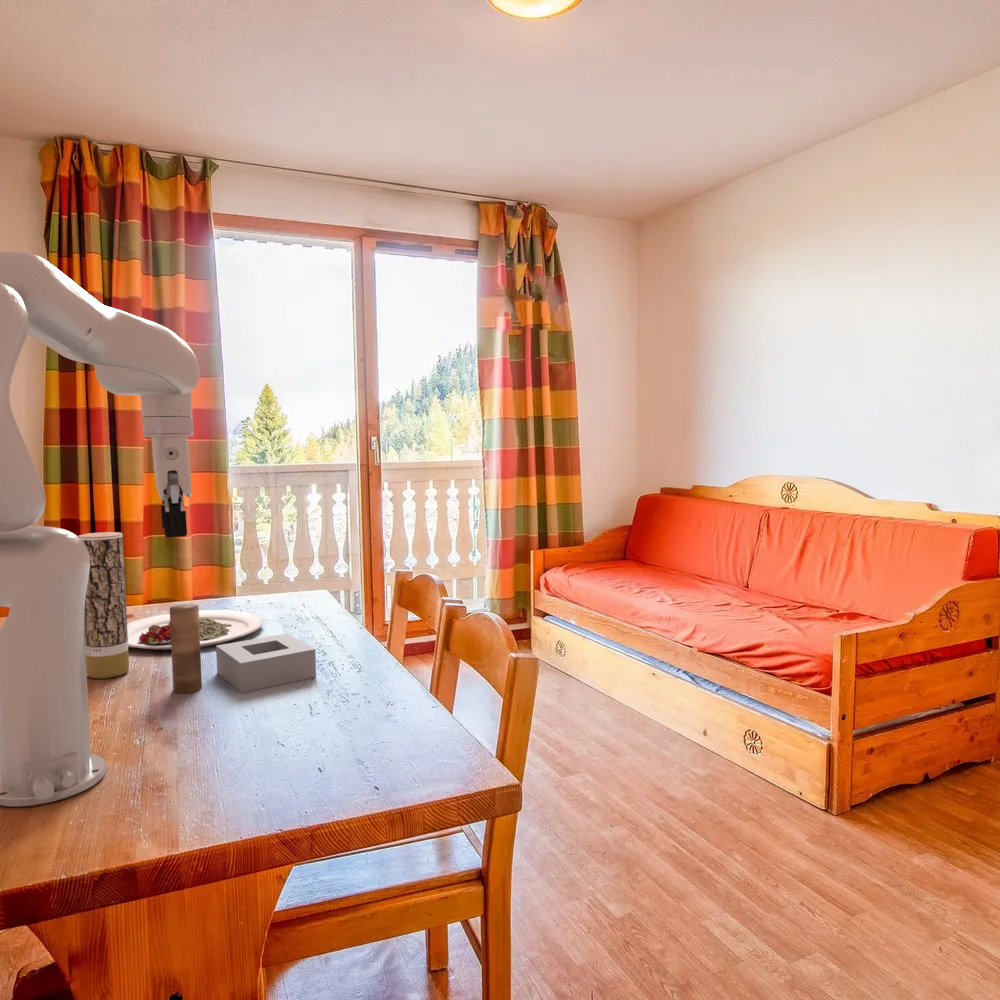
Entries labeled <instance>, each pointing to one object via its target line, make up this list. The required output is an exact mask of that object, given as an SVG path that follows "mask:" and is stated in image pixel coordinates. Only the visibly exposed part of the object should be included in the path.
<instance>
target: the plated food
mask: <svg viewBox="0 0 1000 1000" xmlns="http://www.w3.org/2000/svg"><path fill="white" fill-rule="evenodd" d="M263 625H264V619H263V618H262V617H261V616H259V615H258V614H255V613H252V612H248V611H242V610H241V611H240V610H229V609H209V610H208V609H204V610H203V609H202V610H199V632H200V648H203V647H208V646H209V647H210V646H214V645H215V646H216V645H220V644H225V643H226V642H227V643H228V642H229V641H233V640H235V639H238V638H242V637H245V636H247V635H249V634H251V633H254V632H257V630H259V629H260V628H261V627H262V626H263ZM127 632H128V648H135V649H136V648H137V649H143V650H145V649H146V650H153V651H154V650H156V651H157V650H158V651H159V650H160V651H169V650H171V628H170V613H166V614H159V615H153V616H149V617H145V618H141V619H138V620H134V621H130V622H127ZM171 651H172V650H171Z"/></svg>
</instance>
